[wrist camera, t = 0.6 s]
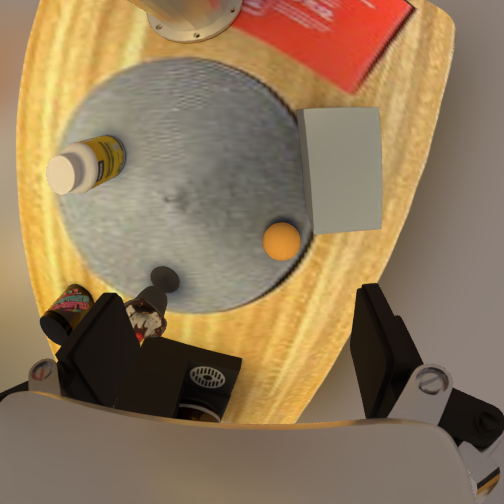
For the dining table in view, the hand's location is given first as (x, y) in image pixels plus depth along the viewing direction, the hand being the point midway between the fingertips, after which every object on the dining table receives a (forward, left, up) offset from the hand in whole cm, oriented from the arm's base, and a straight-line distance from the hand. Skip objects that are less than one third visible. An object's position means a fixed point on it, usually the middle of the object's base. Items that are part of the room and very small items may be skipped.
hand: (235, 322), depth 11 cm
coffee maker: (+43, -22, -29) cm, 57 cm away
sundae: (+15, -18, -29) cm, 37 cm away
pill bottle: (-6, -22, -29) cm, 37 cm away
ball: (+9, +1, -27) cm, 28 cm away
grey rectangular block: (-1, +9, -29) cm, 31 cm away
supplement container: (+18, -38, -29) cm, 51 cm away
